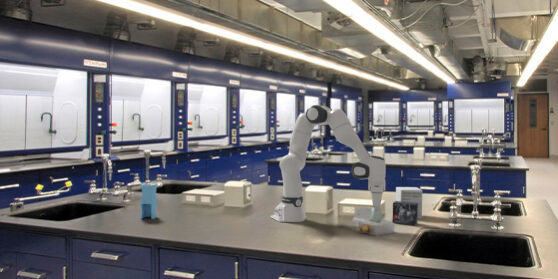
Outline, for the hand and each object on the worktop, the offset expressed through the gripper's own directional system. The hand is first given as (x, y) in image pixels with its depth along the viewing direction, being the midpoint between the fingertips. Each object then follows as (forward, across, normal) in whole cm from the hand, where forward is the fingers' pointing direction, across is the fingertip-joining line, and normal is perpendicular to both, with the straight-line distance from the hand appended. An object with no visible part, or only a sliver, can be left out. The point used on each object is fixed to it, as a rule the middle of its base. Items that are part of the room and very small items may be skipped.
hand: (376, 213), depth 240 cm
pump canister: (+5, 0, 0) cm, 5 cm away
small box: (+10, -25, +16) cm, 31 cm away
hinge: (+10, -21, -4) cm, 24 cm away
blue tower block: (+11, -6, -133) cm, 133 cm away
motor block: (+10, +1, -1) cm, 10 cm away
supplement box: (+10, -45, +20) cm, 51 cm away
